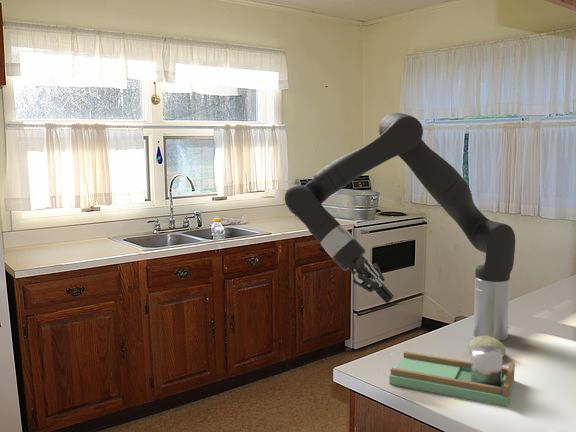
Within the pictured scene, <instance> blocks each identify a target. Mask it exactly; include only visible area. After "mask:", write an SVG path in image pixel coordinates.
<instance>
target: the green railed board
mask: <svg viewBox="0 0 576 432" xmlns="http://www.w3.org/2000/svg"><path fill="white" fill-rule="evenodd" d="M515 365H516V363H515V362H513V361H510V362H509V366H508V367H504V366H502V383H501V387H498V386H492V385H486V384H481V383H475V382H471V361H466V360H460V359H455V358H454V359H453V358H449V357H448V358H447V357H441V356H435V355H430V354H429V355H428V354H423V353H417V352H410V351H404V352H403V357H402V359H401V360H400V361H399V362H398V364H397V365H396V366H395V367H391V368H390V373H389V376H388V377H389V378H388V379H389V380H388V381H389V385H393V386H400V387H404V388H409V389H415V390H421V391H426V392H429V393H436V394H441V395H445V396H451V397H455V398H456V397H457V398H462V399H466V400H472V401H478V402H483V403H487V404H492V403H493V404H494V405H497V404H498V405H497V406H502V405H503V407H508V406H509V402H510V399H511V394H512V390H513V386H514V383H515V367H516V366H515Z"/></svg>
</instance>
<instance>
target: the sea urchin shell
mask: <svg viewBox="0 0 576 432" xmlns="http://www.w3.org/2000/svg"><path fill="white" fill-rule="evenodd" d="M476 346H491V347H495V348H498V349H500V350H501V351H502V353H503V354H502V358H504V357H505V355H506V354H507V353H506V352H507V349H506V347H505V346H506V345H504V343H503V342H501V341H498V340H497V339H495V338H493V337H490V336H477V337H476V336H474V338H472V339H471V341H469V345H468V352H469V353H470V354H471V355H472V348H473V347H476Z"/></svg>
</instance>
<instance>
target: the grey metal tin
mask: <svg viewBox="0 0 576 432" xmlns="http://www.w3.org/2000/svg"><path fill="white" fill-rule="evenodd" d="M502 354H503V353H502V351H501V350H500V349H498V348H495V347H491V346H476V347H473V348H472V354H471V361H470V362H471V382H475V383H481V384H486V385H492V386H498V387H501V383H502V367H503V357H502Z"/></svg>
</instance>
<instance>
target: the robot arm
mask: <svg viewBox="0 0 576 432" xmlns="http://www.w3.org/2000/svg"><path fill="white" fill-rule="evenodd" d="M378 127H379V128H378V133H379V136H378V137H377V138H375V139H374V140H372V141H371V142H370V143H368V144H365V145H364V146H362V147H360V148H358V149H355V150H353V151H351V152H348V153H346V154H343V155H342V156H340V157H338V158H337V159H335V160H333V161H331V162H330V163H328V164H326V166H324V167H323V168H321V169H320V170H319V171H317V172H316V173H315V174H314V175H313V178H312V179H311V180H310V181H308V182H307V183H305V185H304V184H293V185H291V186H290V187H289V188H288V189H286V191H285V193H284V202H285V206H286V207H287V209H288V210H289V211H290V213H291V214H294V215H295V216H296V217H297V218H298V219H299V220H300V221H301V222H302V223H303V224H304V225H305V226H306V227H307V229H308V231H309V233H310V234H311V235H312V236H313V237H314V238H315V239H316V241H317V242H318V243H319V244H320V246H321V247H322V248H323V250H325V253H327V254H328V255H329V256H330V258H332V260H333V261H334V262H335V263H336V264H337V266H339V268H341V270H342V271H348V270H349V271H350V272H351V274H352V275H353V276H354V278H353V280H352V282H353V283H354V284H355V285H357V286H358V287H360V288H363V289H364V290H366V291H368V292H370V293H372V292H373V293H376V294H377V295H378V296H379V297H380V298H381V299H382V301H384V302H385V303H386V304H388V303H389V302H390V301H392V299H393V298H394V297H395V296H394V294H393V293H392V291H390V290H389V289H388V288H387V287H386V286H385V280H386V279H385V276H384V275H383V273H382V271H381V268H380V266H379V265H378V264H377V263H376V262H375V263H373V264H372V262H370V261H369V260H368V259H367V258H366V257H364V255H365V254H366V249H365V248H364V247H363V246H362V244H361V243H360V242H359V241H358V240H357V239H356V238H355V237H354V236H353V235H352V233H350V232H349V230H347V229H346V228H345V227H344V226H343V225H342V224H340V222H339V221H338V220H337V219H336V218H335V217H334V215H332V214H331V213H330V212H329V211H328V210H327V208H325V207H324V206H323V205H322V204H323V203H324V202H325V201H326V200H327V199H328V198H330V196H332V195H333V194H334V195H335V194H336V193H337V192H339V191H341V190H342V189H343V188H345V187H346V186H348V185H349V184H350V183H352V182H353V181H355V180H357V179H358V178H360V177H361V176H362V175H364V174H366V173H368V172H369V171H370V170H372V169H375V168H376V167H378V166H381V165H382V164H384V163H385V162H387V161H389V160H391V159H393V158H396V157H399V158H400V159H401V160H402V161H403V162H404V164H406V166H408V167H409V169H410V170H411V171H412V172H413V174H414V175H415V177H416V178H417V179H418V180H419V182H420V183H421V185H422V186H423V187H424V188H425V190H426V191H427V192H428V193H429V195H431V197H432V198H433V199H434V200H435V201H436V202H437V203H438V205H440V206H441V207H442V209H444V211H445V212H446V213H447V214H448V216H449V217H451V219H453V220H454V221H455V223H456V224H457V225H458V226H459V228H460V230H462V232H463V234H464V235H465V236H466V238H467V240H468V241H469V242H470V243H471V245H472V246H473V247H474V248H475V249H476V250H478V251H479V252H482V253H485V259H484V263H483V264H480V265H477V266H476V268H475V270H474V271H475V273H474V274H475V275H474V277H475V278H474V309H473V310H474V311H473V313H474V314H473V315H474V316H473V336H474V337H477V336H490V337H493V338H495V339H497V340H498V341H500V342H501V341H502V342H503V341H505V340H507V339H508V338H509V337H508V335H509V317H510V316H509V312H510V311H509V309H510V307H509V306H510V281H511V273H512V270H513V267H514V262H515V252H516V234H515V231H514V229H513V228H512V227H511V226H510V225H509V224H507V223H503V222H497V221H493V220H491V219H489V218H488V217H487V216H485V215H484V214H483V213H482V212H481V210H479V209H478V207H477V206H476V204H475V203H474V200H473V195H472V191H471V188H470V186H469V184H468V183H467V181H466V180H465V179H464V178H463V177H462V175H461V174H460V173H459V172H458V170H456V169H455V168H454V166H452V165H451V164H450V163H449V162H448V161H447V160H446V159H445V158H443V157H442V156H441V155H439V154H438V153H437V152H435V151H434V150H432V149H431V147H429V145H427V144H426V142H425V141H424V140H423V135H424V128H423V125H422V123H421V121H420V120H419V119H417V118H416V117H414V116H412V115H410V114H407V113H400V112H392V113H389V114H387V115H385V116H384V117H383V118H382V119H381V121H380V123H379V125H378Z"/></svg>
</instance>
